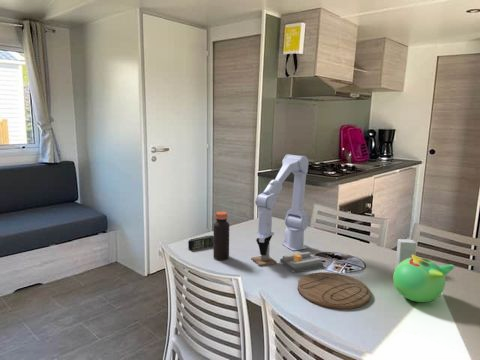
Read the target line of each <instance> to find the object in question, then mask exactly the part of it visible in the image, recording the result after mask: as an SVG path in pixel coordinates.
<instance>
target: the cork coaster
mask: <svg viewBox="0 0 480 360" xmlns="http://www.w3.org/2000/svg"><path fill="white" fill-rule="evenodd" d="M250 260H251V261H252V260H253V261H252V262H254V263H255V264H256V265H257V264H258V265H257V266H258V267H264V266H270V265H274V264H278V263H277V260H275V259H274V258H273V257H271V256H270V255H269V261H261V256H259V255H258V256H254V257H251V258H250Z"/></svg>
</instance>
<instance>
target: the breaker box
mask: <svg viewBox="0 0 480 360" xmlns="http://www.w3.org/2000/svg"><path fill="white" fill-rule="evenodd" d="M294 254H295V253H294ZM294 254H288V255H283V256H282V258H280V261H279V263H281V264H282V265H283V266H284V267H286V268H288V269H289V270H290V271H291V272H293V273H299V272H305V271H310V270H314V269H320V268H323V267H324V262H322V259H321V258H319V257H316V258H315V257H313V256H311V252H309V251H305V252H300V253H297V254H299V255H301V256H302V261H300V262H296V261H294Z"/></svg>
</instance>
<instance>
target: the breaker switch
mask: <svg viewBox="0 0 480 360" xmlns="http://www.w3.org/2000/svg"><path fill="white" fill-rule="evenodd" d="M294 261H296V262H300V261H302V256H301V255H299V254H298V253H294Z"/></svg>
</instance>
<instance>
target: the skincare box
mask: <svg viewBox="0 0 480 360" xmlns="http://www.w3.org/2000/svg"><path fill="white" fill-rule="evenodd" d="M396 245H397V246H396V256H395V257H396V259H395V268H396V267H397V266H398V264H399V263H401V262H402V261H403V260H405V259H408V258H412V255H416V249H417V242H416V241H415V240H413V239H403V238H399V239H397V244H396Z"/></svg>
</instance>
